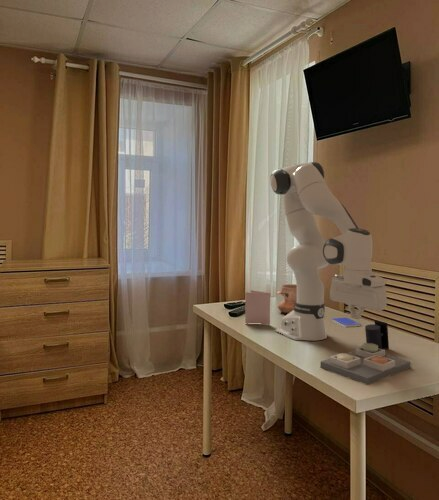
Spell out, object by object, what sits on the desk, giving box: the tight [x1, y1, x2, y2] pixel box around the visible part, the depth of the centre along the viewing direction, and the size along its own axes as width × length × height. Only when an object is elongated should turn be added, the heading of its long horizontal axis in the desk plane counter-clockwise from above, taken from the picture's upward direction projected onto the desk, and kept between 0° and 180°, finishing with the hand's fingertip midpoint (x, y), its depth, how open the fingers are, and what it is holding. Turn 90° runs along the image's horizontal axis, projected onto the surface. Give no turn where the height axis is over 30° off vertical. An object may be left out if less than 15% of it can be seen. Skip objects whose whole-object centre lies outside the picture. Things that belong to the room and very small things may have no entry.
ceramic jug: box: [276, 283, 297, 315], centre depth 220 cm, size 18×14×14 cm
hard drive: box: [331, 317, 362, 328], centre depth 199 cm, size 2×8×12 cm
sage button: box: [362, 342, 378, 353], centre depth 147 cm, size 5×5×2 cm
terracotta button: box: [371, 356, 388, 364], centre depth 137 cm, size 5×5×2 cm
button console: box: [319, 346, 412, 386], centre depth 141 cm, size 18×24×4 cm
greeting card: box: [244, 290, 271, 325], centre depth 197 cm, size 11×7×15 cm, turn 47°
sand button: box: [336, 353, 353, 362], centre depth 139 cm, size 5×5×2 cm
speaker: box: [364, 320, 390, 350], centre depth 162 cm, size 8×6×10 cm
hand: (355, 318), depth 142 cm, fingers closed
